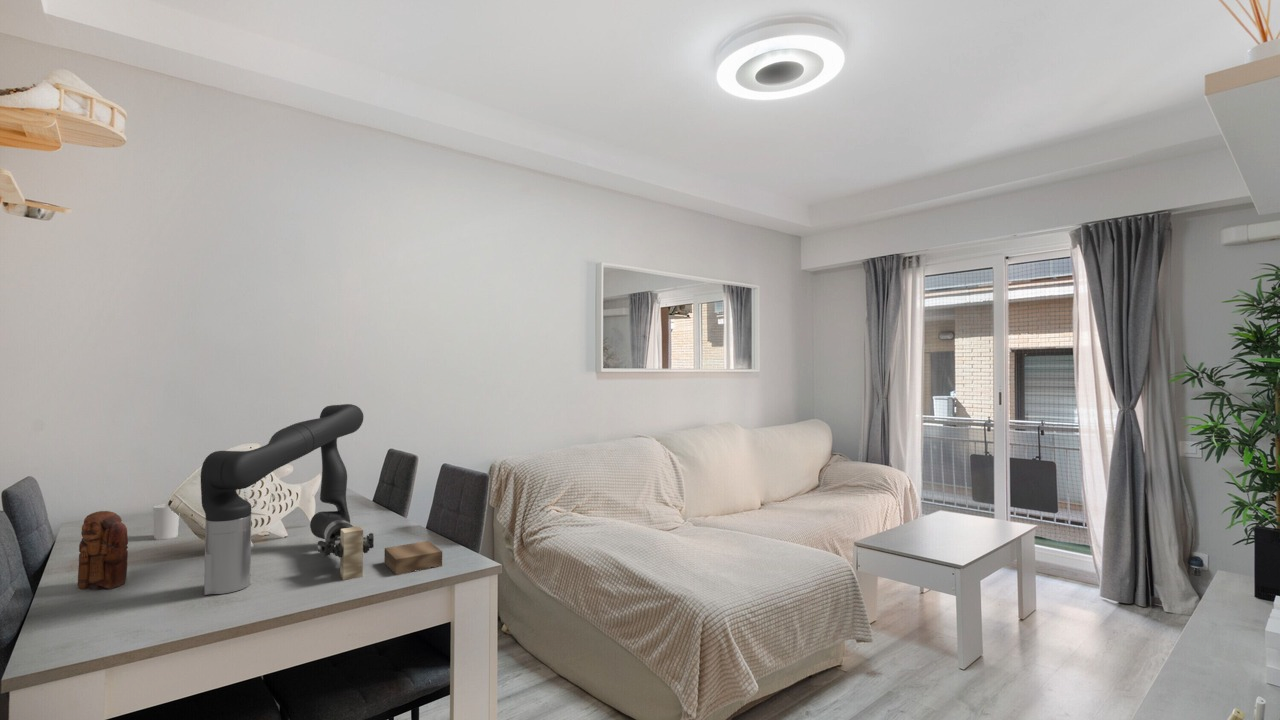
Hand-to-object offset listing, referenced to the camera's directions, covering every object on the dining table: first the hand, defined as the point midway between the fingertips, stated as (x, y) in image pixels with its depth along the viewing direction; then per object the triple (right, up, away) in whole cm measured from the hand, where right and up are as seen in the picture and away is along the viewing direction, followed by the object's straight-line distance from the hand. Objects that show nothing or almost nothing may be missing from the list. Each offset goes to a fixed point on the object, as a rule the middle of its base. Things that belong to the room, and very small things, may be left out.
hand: (353, 551), depth 151 cm
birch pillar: (-2, -7, +2) cm, 7 cm away
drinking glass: (-76, -7, +35) cm, 84 cm away
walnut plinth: (+11, -7, +11) cm, 17 cm away
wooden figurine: (-60, -7, -6) cm, 60 cm away
